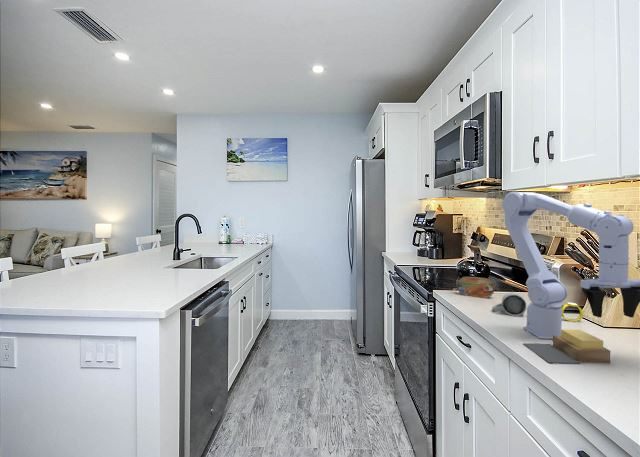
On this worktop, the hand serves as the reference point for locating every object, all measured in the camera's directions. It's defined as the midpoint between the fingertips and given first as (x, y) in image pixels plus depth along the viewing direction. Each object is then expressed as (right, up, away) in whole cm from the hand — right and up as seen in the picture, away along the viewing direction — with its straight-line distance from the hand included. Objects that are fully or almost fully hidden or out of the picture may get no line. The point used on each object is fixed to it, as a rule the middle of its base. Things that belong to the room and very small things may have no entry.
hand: (612, 316), depth 87 cm
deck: (-8, -10, +1) cm, 13 cm away
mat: (-15, -10, +2) cm, 18 cm away
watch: (+10, -9, +28) cm, 31 cm away
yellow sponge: (-7, -6, +1) cm, 10 cm away
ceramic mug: (-6, -9, +37) cm, 39 cm away
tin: (-7, -7, +62) cm, 63 cm away
